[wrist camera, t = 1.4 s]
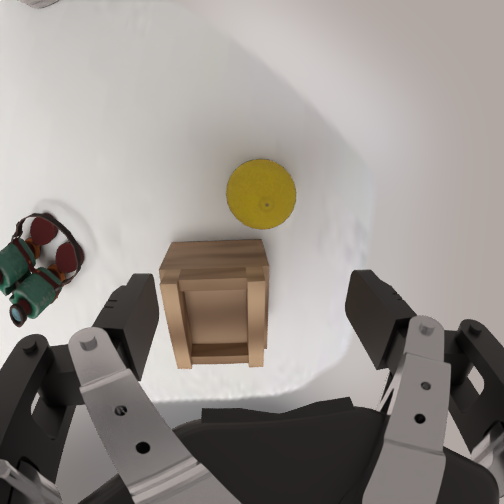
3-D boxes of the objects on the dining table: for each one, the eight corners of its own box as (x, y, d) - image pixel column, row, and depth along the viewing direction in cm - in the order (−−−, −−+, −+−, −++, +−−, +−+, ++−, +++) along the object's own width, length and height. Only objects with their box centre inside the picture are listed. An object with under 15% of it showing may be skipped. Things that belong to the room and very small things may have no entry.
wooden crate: (171, 242, 28) (152, 284, 20) (261, 239, 28) (273, 280, 21) (182, 315, 31) (171, 368, 24) (260, 313, 32) (269, 366, 24)
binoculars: (63, 286, 18) (23, 346, 19) (103, 243, 28) (61, 296, 29) (-4, 208, 15) (-33, 282, 16) (52, 188, 25) (15, 247, 26)
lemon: (295, 173, 26) (321, 190, 19) (267, 222, 28) (280, 256, 20) (244, 145, 25) (250, 149, 17) (216, 196, 26) (211, 222, 19)
